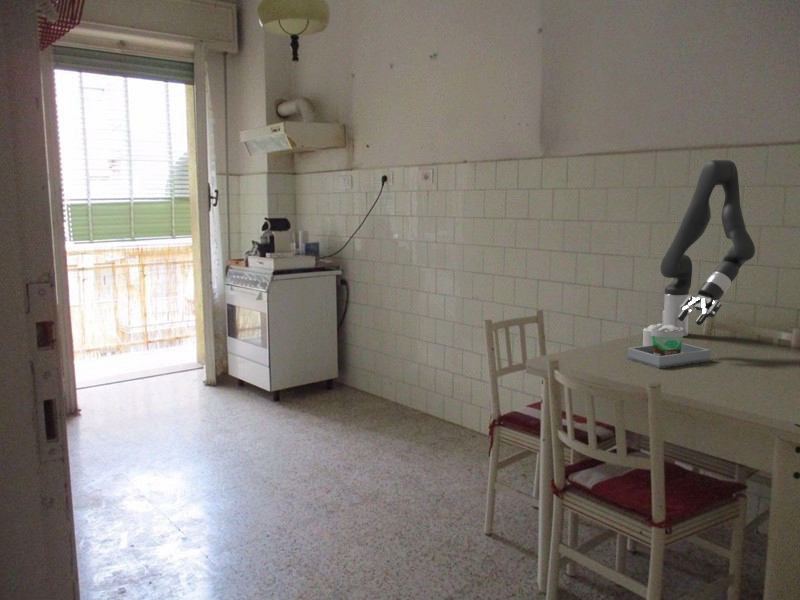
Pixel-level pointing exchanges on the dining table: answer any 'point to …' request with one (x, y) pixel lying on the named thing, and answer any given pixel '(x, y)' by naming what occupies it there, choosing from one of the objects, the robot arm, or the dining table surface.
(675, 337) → the food container
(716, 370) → the dining table surface
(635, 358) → the grey tray
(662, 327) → the lumpy-topped squat cylinder
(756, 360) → the dining table surface
